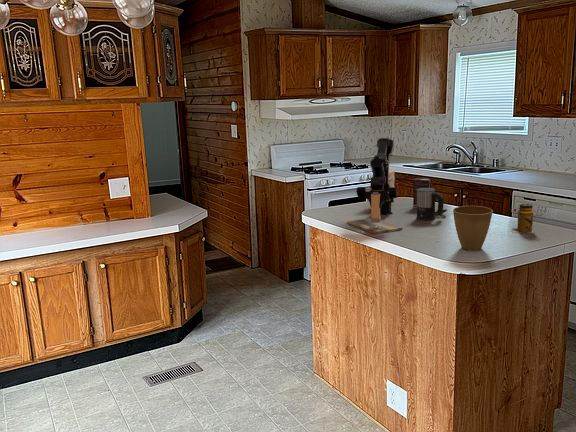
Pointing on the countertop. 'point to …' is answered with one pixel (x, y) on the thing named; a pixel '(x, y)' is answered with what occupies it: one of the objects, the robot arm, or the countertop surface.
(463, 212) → the plant pot
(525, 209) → the condiment
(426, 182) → the supplement box
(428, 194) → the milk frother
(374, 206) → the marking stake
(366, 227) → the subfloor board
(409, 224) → the countertop surface
